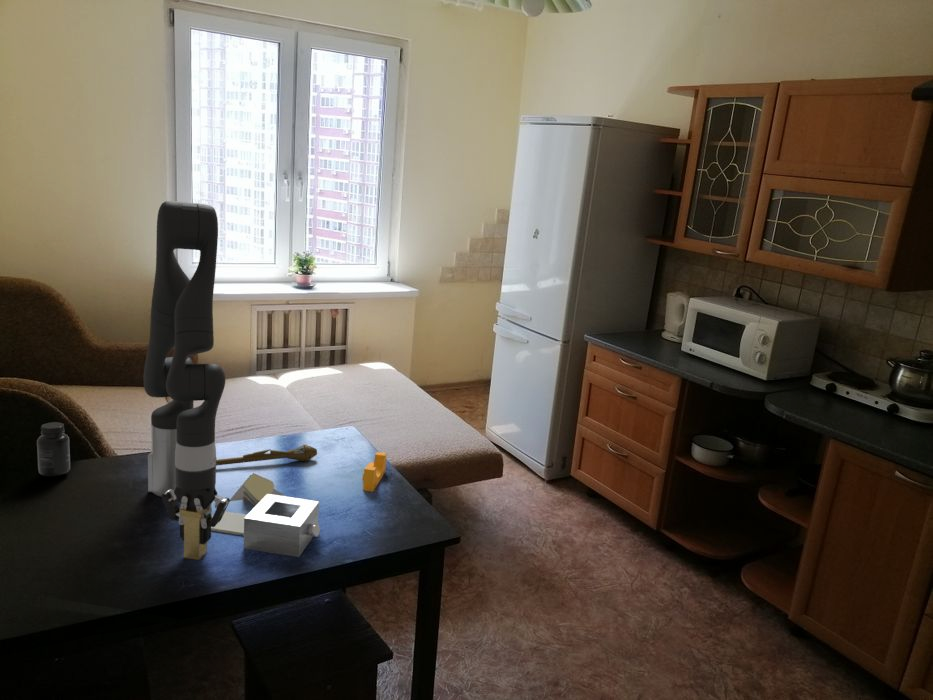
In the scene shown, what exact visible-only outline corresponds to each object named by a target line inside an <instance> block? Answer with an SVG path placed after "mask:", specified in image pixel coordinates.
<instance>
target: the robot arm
mask: <svg viewBox="0 0 933 700" xmlns="http://www.w3.org/2000/svg"><path fill="white" fill-rule="evenodd" d="M218 221H219V220H218V215H217V211H216V209H215V207H214V206H212V205H211V204H207V203H205V204H204V203H197V202H196V203H195V202H188V201H187V202H186V201H177V200H175V201H173V200H168V201H167V200H166V201H164V202H162V203H161V204H160V207H159V209H158V212H157V220H156V246H155V248H156V252H155V253H156V258H155V272H154V282H153V283H154V284H153V289H152V290H153V291H152V296H151V307H150V326H149V327H150V328H149V338H148V339H149V340H148V346H147V353H146V356H145V357H146V358H145V362H144V369H143V376H142V378H143V388H144V391H145V393H146V395H148V396H149V397H150V398H170V399H171V401H169V402H168V403H165V404H164V405H162V406H160V407H157V408H155V409H154V410H153V411H152V412H151V415H150V416H151V417H150V421H151V424H150V428H151V430H150V436H151V439H150V440H151V452H150V453H149V454H148V455H147V484H148V486H147V488H148V489H147V490H148V492H149V493H153V494H154V495H155V496H158V497H161V499H162V502H163V505H164V507H165V510H166V512H167V514H168V517H169V519H170V520H171V521H173V522H175V521H176V523H178V524H179V538H180V539H181V541H182V542H184V516H180V509H184V510H186V509H187V508H188V509H195V510H197V512H202V518H201V519H200V522H201V528H200V544H205V543H206V542H207V543H208V542H209V541H210V540H211V538H212V531H211V527H215V526H216V524H217V523H218V522H220V521H221V519H222V517H223V515H224V513H225V511H227V508H228V507H229V506H228V505H229V504H230V502H231V501H230V499H231V498H229V497H222V496H220V495H218V491H217V490H216V489H217V488H216V482H217V466H216V460H218V459H217V448H216V418H217V412H218V408H219V405H220V402H221V399H222V396H223V393H224V391H225V390H224V389H225V387H226V374H225V372H224V370H223V368H222V367H221V366H220V365H219V364H218V363H217V364H216V363H194V361H193V359H191V356H195V355H197V354H202V353H206V352H209V351H211V350H212V349H213V348H214V344H215V342H214V340H215V339H214V338H215V337H214V314H213V311H214V310H213V308H214V307H213V306H214V305H213V304H214V302H213V301H214V291H215V280H216V269H217V255H218V254H217V253H218V241H219V222H218ZM176 249H177V250H181V249H182V250H193V251H194V250H195V251H199V252H200V254H199V261H198V264H197V267H196V270H195V272H194V273H193V275H192V277H191V279H189V277H188V276H187V274H186V273H185V272H184V270H183V268H182V267H181V265H180V264H179V262H178V260H177V257H176V254H175V252H174V250H176ZM173 349H174V350H173ZM172 350H173V354H172V356H170V357H169V356H168V355H169V354H170V352H171V351H172ZM195 401H196V402H197V401H203V402H202V403H201V405H199V406H195V407H194V402H195ZM213 502H214V508H215V509H216V510H215V511H214V513H213V514H212V510H213V507H212V504H213ZM179 503H180V505H179ZM208 507H209V509H208V510H207V511H206V512H205V513H204V510H206V509H207V508H208ZM212 515H213V518H212Z"/></svg>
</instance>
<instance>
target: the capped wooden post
mask: <svg viewBox="0 0 933 700" xmlns="http://www.w3.org/2000/svg"><path fill="white" fill-rule="evenodd" d="M208 509H209V507H208V508H207V509H206V510H204V513H205V512H206V511H207V510H208ZM180 516H184V541H183V558H185V559H189V560H196V561H199V560H200V561H201V559H202V558H203V557H204V556H205V555H206V554H207V551H208V550H207V549H208V542H206V543H205V544H200V528H201V522H200V519H201V518H202V512H197V510H195V509H188V508H187V509H186V510H184V509H180Z"/></svg>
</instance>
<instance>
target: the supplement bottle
mask: <svg viewBox="0 0 933 700" xmlns="http://www.w3.org/2000/svg"><path fill="white" fill-rule="evenodd" d="M64 424H65V423H62V422H57V421H53V422H48V423H44V424H42V425H41V426H40V430H41V431H40V434H41V435H40V436H39V437H38V438H37V439H36V447H37V448H36V449H37V451H36V452H37V469H38V473H39V474H40V475H42V476H45V477H57V476H62V475H65V474H67V473H68V472H69V471H70V470H71V454H70V437H69V436H68V434H66V433H65V425H64Z"/></svg>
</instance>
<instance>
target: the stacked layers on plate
mask: <svg viewBox="0 0 933 700" xmlns="http://www.w3.org/2000/svg"><path fill="white" fill-rule="evenodd" d="M267 494H272V495H279V496H285V494H283V493H282V492H280V491H278V490H277V489H275V484H274V482H273V481H272V480H270V479H268V478H266V477H263V476H261V475H259V474H257V473H254V472H253V473H252V474H250V475H249V476H248V477H247V479H245V481H244V482H243V484H242V485H240V487H239V488H238V489H237V491H236V492H235V493H234V494H233V495H232V496H231V498H229V499H230V502H236V501H245V500H248V501H249V502H250V503H251V504H252V505H253V506H254V507H255V506H256V505H257V504H258V503H259V502H260V501H261V500H262V499H263V498H264V497H265V496H266V495H267Z"/></svg>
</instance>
